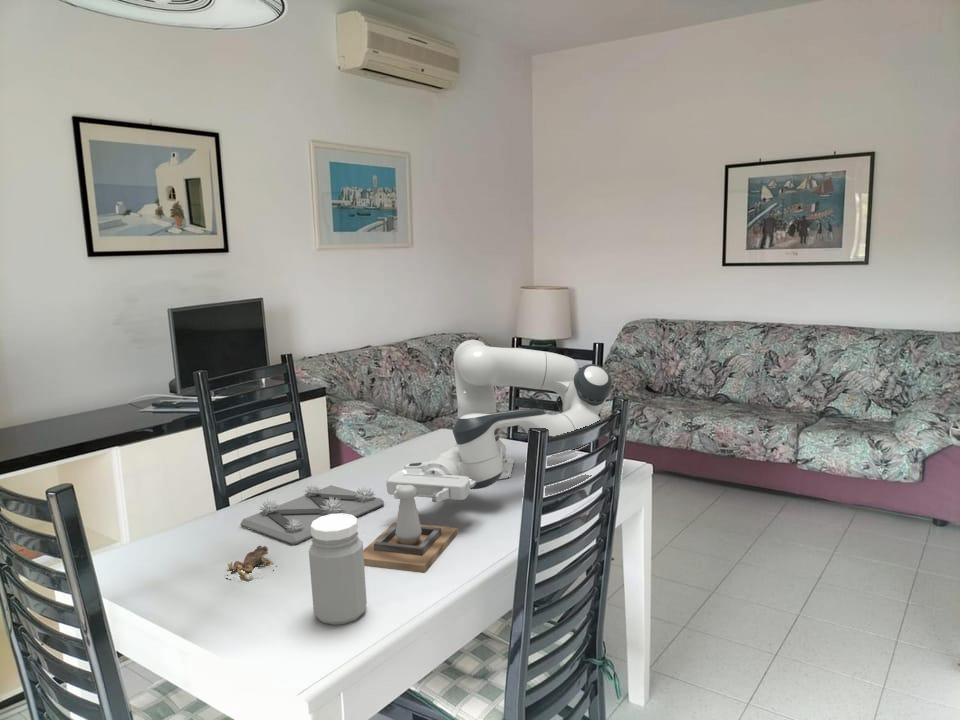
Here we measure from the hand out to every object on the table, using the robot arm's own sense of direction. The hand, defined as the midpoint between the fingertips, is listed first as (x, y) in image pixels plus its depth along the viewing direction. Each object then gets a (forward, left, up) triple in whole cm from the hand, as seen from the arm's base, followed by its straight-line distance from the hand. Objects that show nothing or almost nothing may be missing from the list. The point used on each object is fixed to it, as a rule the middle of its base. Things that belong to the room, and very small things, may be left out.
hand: (415, 497), depth 161 cm
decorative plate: (-7, -31, -11) cm, 34 cm away
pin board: (+5, 0, -10) cm, 11 cm away
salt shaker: (+5, 0, -9) cm, 10 cm away
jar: (+34, -1, -10) cm, 36 cm away
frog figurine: (+23, -29, -11) cm, 38 cm away
